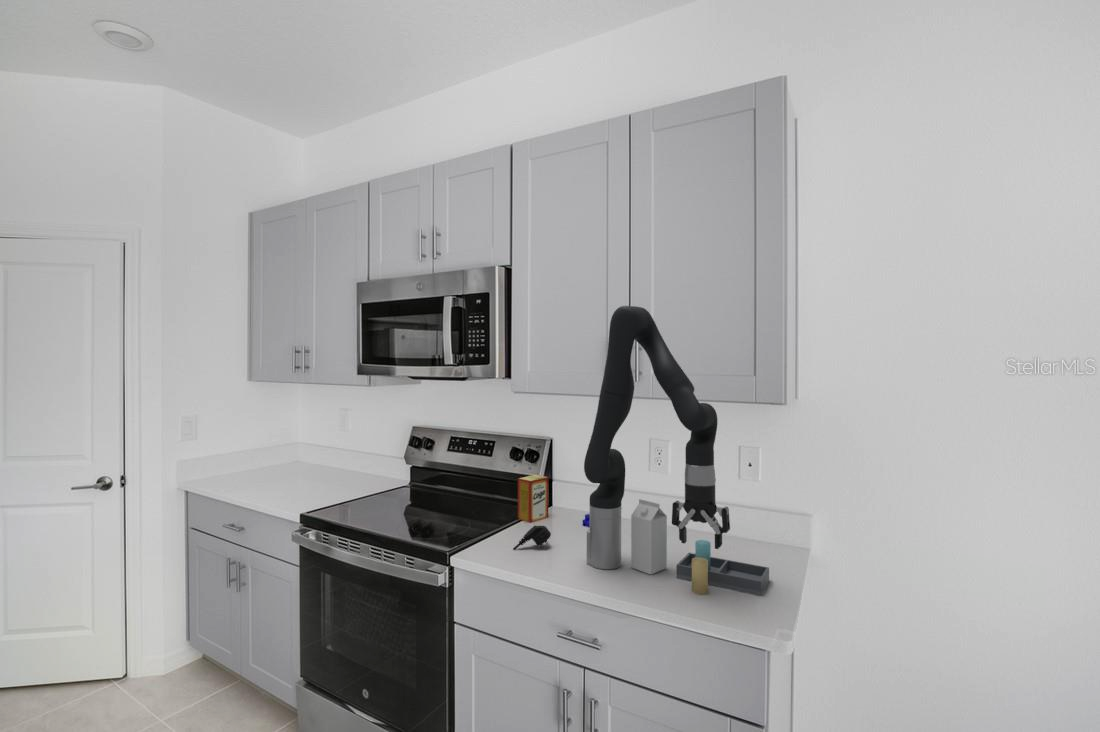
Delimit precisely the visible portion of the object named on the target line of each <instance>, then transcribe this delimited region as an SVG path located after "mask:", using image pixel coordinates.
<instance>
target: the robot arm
mask: <svg viewBox="0 0 1100 732" xmlns="http://www.w3.org/2000/svg"><path fill="white" fill-rule="evenodd" d="M609 323H610V324H609V330H608V331H609V332H608V343H607V345H608V346H607V355H606V360H605V366H604V370H603V371H604V373H603V377H602V381H601V386H600V387H601V388H600V392H599V397H598V404H597V410H596V413H595V414H596V415H595V420H594V424H593V428H592V433H591V436H590V440H589V444H588V445H587V450H586V454H585V457H584V463H583V471H584V474H585V477H586V479H587V480H588V481H589V482H590V483H592V484H599V485H598V486H597V488H596V489H595V490H594V491H593V492H591V494H590V496H589V514H590V527H589V529H588V530H586V565H589V566H590V567H593V568H595V569H599V570H615V569H618V568H620V567H621V566H622V501H623V498H624V495H625V489H626V488H625V483H626V461H625V458H624V456H623V454H622V453H621V452H620V451H619V450H618V449H616V448H612V444H613V441H614V438H615V436H616V434H617V432H618V431H619V430H620V428H621V427H622V425H623V424H624V422H625V421H626V419H627V417H628V415H629V414H630V411H631V408H632V402H633V400H634V399H633V398H634V392H635V381H634V380H635V379H634V375H633V370H632V365H631V362H632V361H631V360H632V359H631V358H632V352H633V349H634V348H633V347H634V342H635V341H636V342H637V343H638V344H639V345H640V346H641V347H642V348H643V350H644V351H645V353H646V355H647V357H648V359H649V362H650V364H651V368H652V371H653V374H654V376H655V379H656V381H657V382H658V384H659V385H660V387H661V388H662V390H663V391H664V393H665V394H666V395H667V398H669V400H670V401H671V403H672V407H673V410H674V411H675V414H676V416H677V418H678V420H679V422H680V423H681V424H682V426H683V427H685V428H686V429H687V430H688V431H690V438H689V440H688V441H687V442H686V444H685V468H684V502H680V500H676V501H674V502H673V503H672V505H671V506H672V507H671V508H672V509H671V510H672V511H671V525H673V526H676V528H678V539H679V542H680V541H681V544H686V543H687V537H688V535H687V534H688V533H687V527H686V526H687V525H688V524H689V522H690V521H692V522H693V523H695V522H696V523H698V522H699V523H702V524H706V523H707V524H708V525H709V527H711V528H712V530H713V531H714V533H715V534H714V549H716V550H719V549H720V548H721V546H722V545H723V534H727V533H728V532H729V531H730V530H731V522H730V509H729V507H728V506H724V507H722V506H721V507H720V506H717V504H716V483H717V482H716V481H717V479H716V471H715V450H714V446H715V442H716V436H717V431H718V430H717V429H718V414H717V412H716V409H715V408H714V406H713V405H712V404H710V403H707V402H699V399H697V397H696V394H695V393H694V392H695V386H694V384H693V383H692V381H691V380H690V378H689V377H688V376H687V374H686V373H685V371H684V369H682V367H681V366H680V365H679V363H678V362H677V360H676V359H675V357H674V356H673V354H672V352H671V351H670V349H669V347H668V346H667V344H666V342H665V340H664V338H663V336H662V334H661V332H660V330H659V328H658V326H657V324H656V322H655V320H654V318H653V317H652V315H651V313H650V312H649V311H648V310H647V308H644V307H641V306H635V305H634V306H631V305H622V306H619V307H617V309H615V310H614V311H613V314H612V316H611V318H610V322H609ZM682 509H683V510H684V511H685V512H686V515H685V517H684V518H683V519H682V520H680V512H681V510H682ZM716 513H718V516H720V517H721V524H720V522H719V521H718V519H717V517H716V516H715V515H716ZM721 525H722V526H721Z"/></svg>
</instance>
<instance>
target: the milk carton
mask: <svg viewBox="0 0 1100 732" xmlns="http://www.w3.org/2000/svg"><path fill="white" fill-rule="evenodd" d="M667 524H668V515H667V514H665V512H664V511H663V510H662V508H660V503H657V502H654V501H649V500H644V499H638V503H637V505H636V507H635V509H634V510H633V512H632V513H631V522H630V525H631V531H630V532H631V533H630V536H631V538H630V539H631V543H630V544H631V547H630V549H631V551H630V552H631V557H630V559H631V560H630V562H631V565H630V566H631V568H632V569H635V570H638V571H640V572H642V573H645V574H648V575H654V574H656V573H658V572H660V571H661V572H662V571H663V570H666V569H667V568H668V567H667V562H668V561H667V560H668V559H667V557H668V556H667V552H668V550H667V547H668V546H667V541H668V539H667V538H668V536H667V535H668V533H667V532H668V529H667V528H668V527H667V526H668V525H667Z"/></svg>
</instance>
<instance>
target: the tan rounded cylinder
mask: <svg viewBox="0 0 1100 732" xmlns="http://www.w3.org/2000/svg"><path fill="white" fill-rule="evenodd" d="M691 592H692V593H693V594H696V595H707V594H708V593H709V585H708V560H707V559H705V558H701V557H695V558H692V581H691Z"/></svg>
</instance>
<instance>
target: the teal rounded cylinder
mask: <svg viewBox="0 0 1100 732" xmlns="http://www.w3.org/2000/svg"><path fill="white" fill-rule="evenodd" d="M694 544H695V545H694V546H695V547H694V548H695V549H694V550H695V553H694V554H695V557H701V558H705V559H707V560H708V570H709V571H710V557H712V556H711V555H712V554H711V550H712V549H711V547H712V546H711V542H710V541H708V540H704V539H698V540H695V543H694Z"/></svg>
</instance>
